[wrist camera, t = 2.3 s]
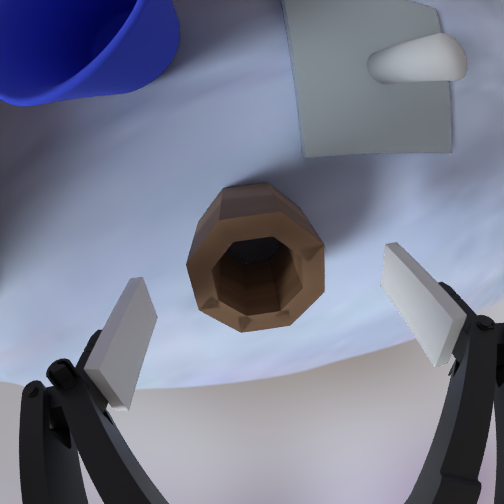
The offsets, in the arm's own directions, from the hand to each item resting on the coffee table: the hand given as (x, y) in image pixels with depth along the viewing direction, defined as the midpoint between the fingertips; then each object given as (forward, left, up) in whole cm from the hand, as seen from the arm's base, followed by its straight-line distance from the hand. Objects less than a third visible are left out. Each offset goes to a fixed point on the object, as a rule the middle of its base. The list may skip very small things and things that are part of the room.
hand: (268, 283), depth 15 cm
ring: (0, 0, -6) cm, 6 cm away
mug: (-6, +17, -6) cm, 19 cm away
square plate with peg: (+10, +11, -6) cm, 16 cm away
